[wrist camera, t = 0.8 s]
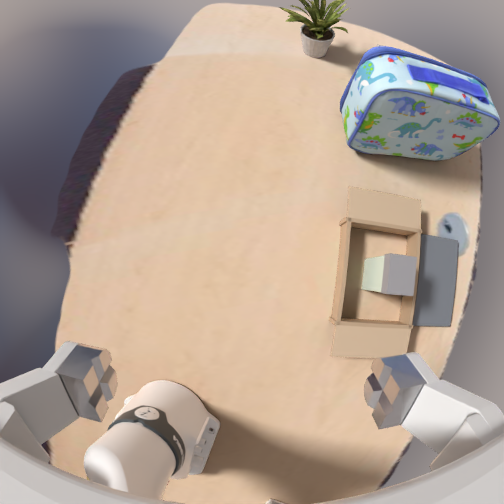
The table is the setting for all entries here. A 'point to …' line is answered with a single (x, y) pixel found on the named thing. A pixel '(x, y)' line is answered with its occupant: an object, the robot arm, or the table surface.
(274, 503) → the ink cartridge box
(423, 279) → the slate mat
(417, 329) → the table surface
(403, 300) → the open cardboard box
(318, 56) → the house plant
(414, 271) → the block
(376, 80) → the lunch box
